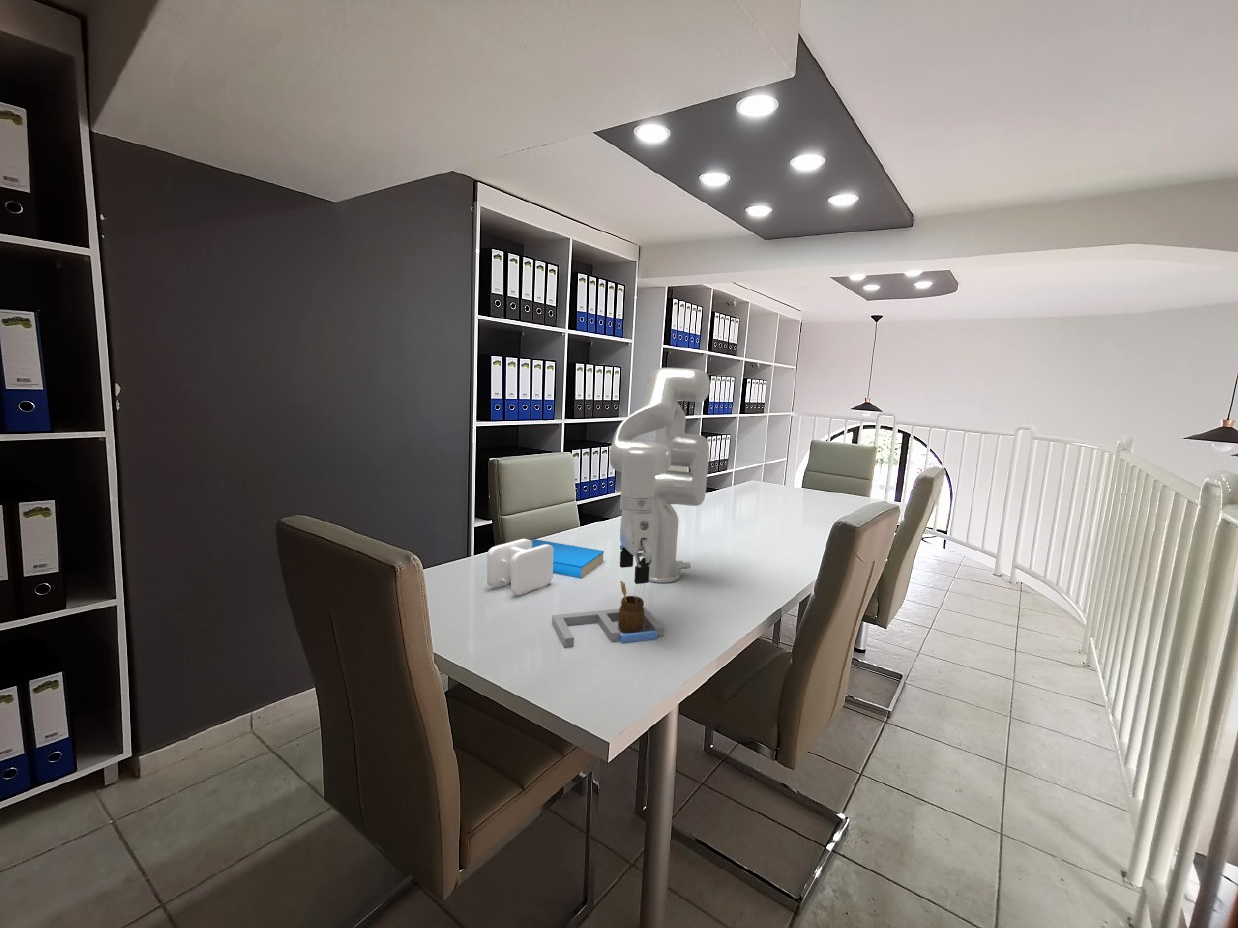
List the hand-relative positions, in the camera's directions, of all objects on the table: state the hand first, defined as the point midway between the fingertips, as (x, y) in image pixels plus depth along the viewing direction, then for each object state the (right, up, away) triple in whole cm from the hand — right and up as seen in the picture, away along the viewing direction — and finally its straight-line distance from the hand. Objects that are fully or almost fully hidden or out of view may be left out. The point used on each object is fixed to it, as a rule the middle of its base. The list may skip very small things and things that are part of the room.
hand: (633, 574), depth 127 cm
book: (-23, -6, +44) cm, 50 cm away
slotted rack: (-6, -13, 0) cm, 14 cm away
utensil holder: (-1, -13, +1) cm, 13 cm away
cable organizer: (-30, -8, +23) cm, 39 cm away
